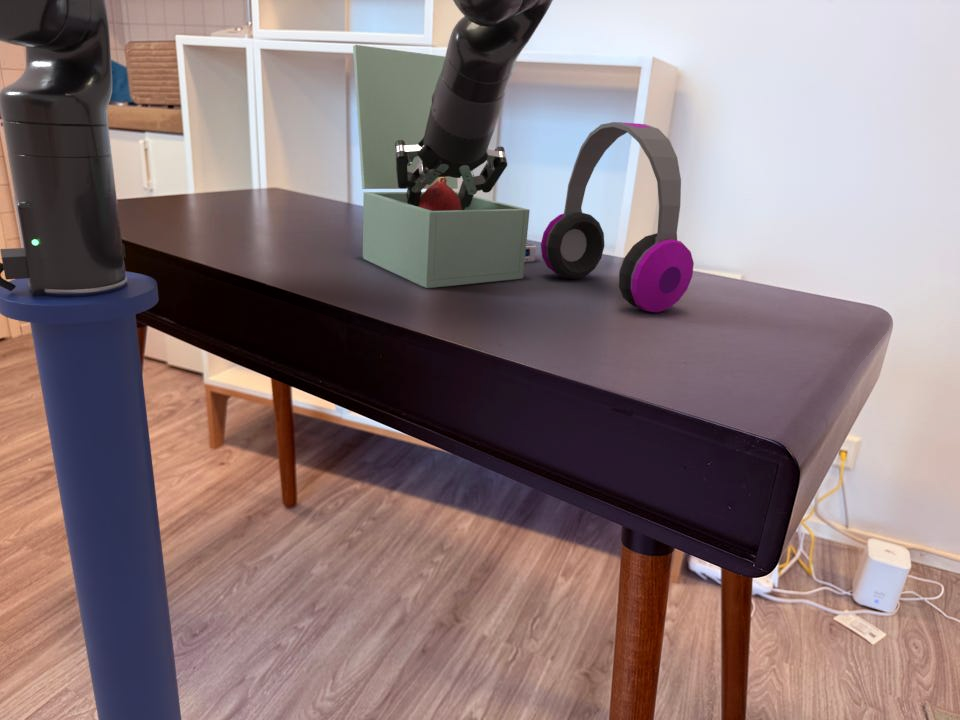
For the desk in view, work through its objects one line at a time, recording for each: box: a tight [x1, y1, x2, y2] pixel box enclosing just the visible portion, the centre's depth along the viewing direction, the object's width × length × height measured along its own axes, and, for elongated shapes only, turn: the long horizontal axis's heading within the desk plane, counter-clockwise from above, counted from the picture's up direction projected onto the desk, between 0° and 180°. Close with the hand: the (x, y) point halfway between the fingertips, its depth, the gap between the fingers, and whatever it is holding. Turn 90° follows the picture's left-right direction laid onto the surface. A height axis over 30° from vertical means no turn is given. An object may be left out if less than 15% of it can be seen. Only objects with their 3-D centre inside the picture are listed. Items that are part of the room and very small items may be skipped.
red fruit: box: [418, 177, 462, 211], centre depth 87 cm, size 6×6×8 cm
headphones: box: [540, 121, 695, 313], centre depth 79 cm, size 21×9×20 cm, turn 28°
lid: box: [352, 44, 459, 190], centre depth 91 cm, size 18×15×4 cm
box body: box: [362, 191, 531, 289], centre depth 87 cm, size 17×15×9 cm
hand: (437, 204), depth 88 cm, fingers closed on red fruit, 5 cm apart
